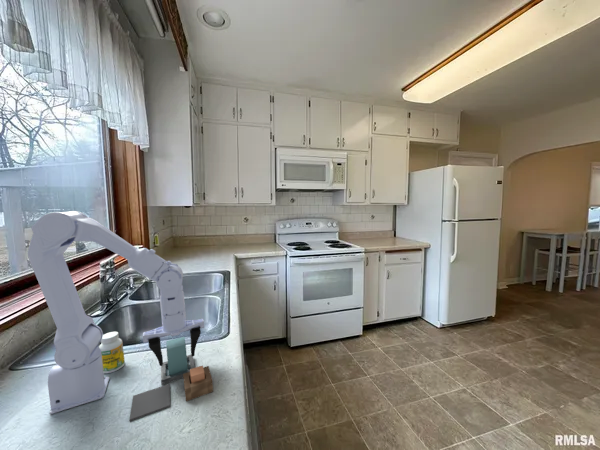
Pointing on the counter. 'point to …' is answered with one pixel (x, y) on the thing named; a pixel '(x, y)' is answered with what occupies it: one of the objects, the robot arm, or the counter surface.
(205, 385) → the housing
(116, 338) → the supplement bottle
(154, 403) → the rubber mat
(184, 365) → the pale teal upright block
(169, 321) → the robot arm
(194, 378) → the orange block
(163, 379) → the holder collar
